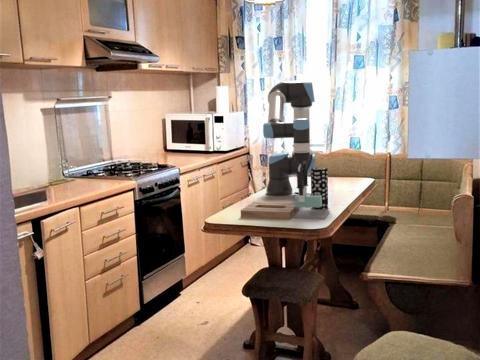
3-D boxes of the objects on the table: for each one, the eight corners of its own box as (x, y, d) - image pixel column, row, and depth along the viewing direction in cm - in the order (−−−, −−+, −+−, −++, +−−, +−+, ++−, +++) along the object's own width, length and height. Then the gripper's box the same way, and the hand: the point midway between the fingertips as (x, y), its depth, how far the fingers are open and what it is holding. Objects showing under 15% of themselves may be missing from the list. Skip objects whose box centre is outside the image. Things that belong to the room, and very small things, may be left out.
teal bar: (297, 205, 248) (296, 195, 247) (322, 205, 244) (321, 195, 243) (295, 207, 244) (294, 197, 243) (320, 207, 240) (320, 196, 239)
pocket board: (253, 208, 264) (253, 201, 263) (299, 209, 256) (299, 202, 255) (240, 217, 245) (240, 210, 245) (290, 219, 238) (289, 212, 237)
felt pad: (301, 211, 253) (301, 210, 253) (329, 212, 248) (329, 211, 248) (294, 218, 240) (294, 216, 240) (324, 219, 235) (324, 218, 235)
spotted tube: (308, 207, 261) (307, 168, 258) (322, 205, 264) (322, 166, 261) (316, 210, 253) (315, 170, 250) (331, 208, 256) (330, 168, 253)
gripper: (298, 149, 250) (299, 197, 253) (289, 154, 234) (290, 204, 238) (313, 149, 247) (314, 197, 251) (305, 154, 231) (306, 204, 235)
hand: (302, 200), depth 244 cm, fingers closed on teal bar, 4 cm apart
